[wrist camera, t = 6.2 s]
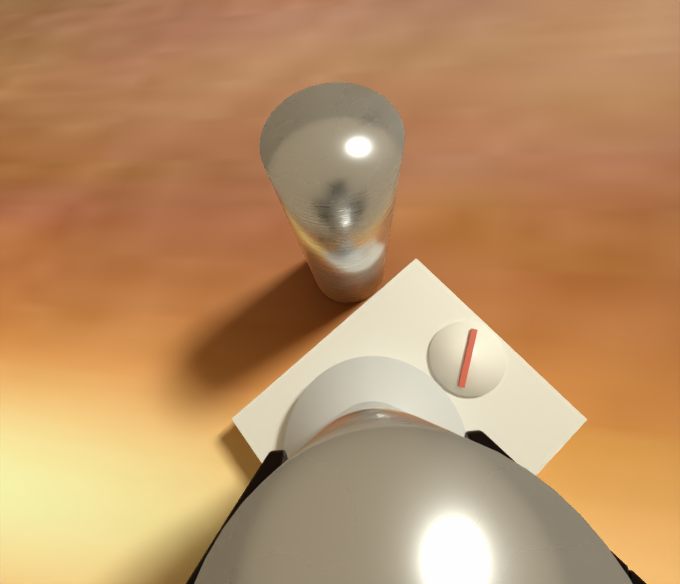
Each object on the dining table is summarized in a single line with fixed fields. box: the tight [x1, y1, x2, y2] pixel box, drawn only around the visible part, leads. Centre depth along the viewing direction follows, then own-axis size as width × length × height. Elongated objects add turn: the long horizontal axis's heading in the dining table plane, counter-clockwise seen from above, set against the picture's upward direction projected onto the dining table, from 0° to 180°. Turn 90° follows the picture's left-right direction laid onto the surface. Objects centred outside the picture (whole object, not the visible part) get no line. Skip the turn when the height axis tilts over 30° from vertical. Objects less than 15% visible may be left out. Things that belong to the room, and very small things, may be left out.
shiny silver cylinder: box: [194, 401, 633, 584], centre depth 9 cm, size 5×5×12 cm
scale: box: [232, 259, 587, 476], centre depth 17 cm, size 14×12×3 cm
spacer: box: [260, 83, 405, 303], centre depth 16 cm, size 5×5×12 cm
